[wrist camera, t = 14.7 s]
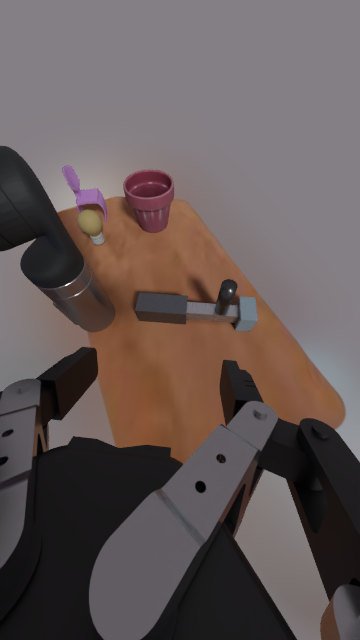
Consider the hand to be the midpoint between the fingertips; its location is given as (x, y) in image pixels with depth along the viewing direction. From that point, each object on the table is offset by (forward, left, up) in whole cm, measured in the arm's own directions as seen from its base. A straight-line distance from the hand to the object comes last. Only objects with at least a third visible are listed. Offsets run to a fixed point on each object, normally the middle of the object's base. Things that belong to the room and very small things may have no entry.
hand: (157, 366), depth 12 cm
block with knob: (+5, +21, -30) cm, 37 cm away
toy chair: (-34, +57, -31) cm, 73 cm away
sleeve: (-5, +21, -31) cm, 37 cm away
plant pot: (-13, +55, -31) cm, 64 cm away
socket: (+15, +21, -31) cm, 40 cm away
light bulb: (-29, +45, -31) cm, 62 cm away
